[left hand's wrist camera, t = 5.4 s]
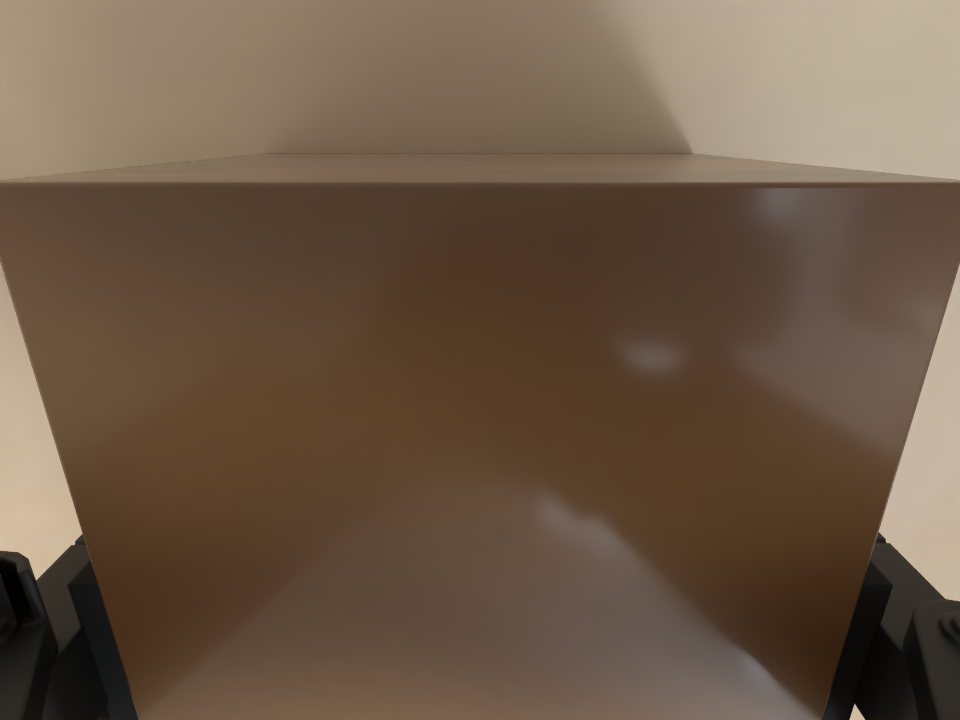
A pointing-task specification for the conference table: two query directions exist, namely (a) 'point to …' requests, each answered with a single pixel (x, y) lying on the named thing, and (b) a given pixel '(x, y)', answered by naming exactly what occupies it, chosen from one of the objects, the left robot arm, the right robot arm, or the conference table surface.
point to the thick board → (480, 423)
